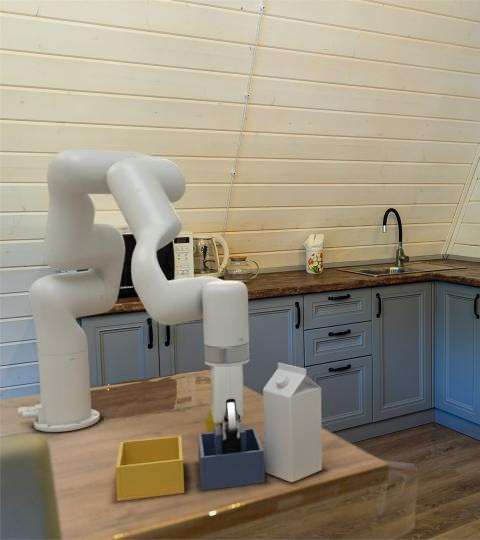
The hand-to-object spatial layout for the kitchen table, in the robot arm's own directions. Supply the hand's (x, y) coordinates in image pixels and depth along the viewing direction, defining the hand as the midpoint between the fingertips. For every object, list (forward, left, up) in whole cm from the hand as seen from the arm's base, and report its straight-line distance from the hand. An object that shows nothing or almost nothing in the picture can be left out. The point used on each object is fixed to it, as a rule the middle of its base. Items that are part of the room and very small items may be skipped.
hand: (230, 454), depth 126 cm
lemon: (-1, +16, -4) cm, 16 cm away
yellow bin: (-13, 0, -3) cm, 13 cm away
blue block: (0, 0, 0) cm, 0 cm away
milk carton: (+10, -3, -4) cm, 11 cm away
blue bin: (0, 0, -3) cm, 3 cm away
